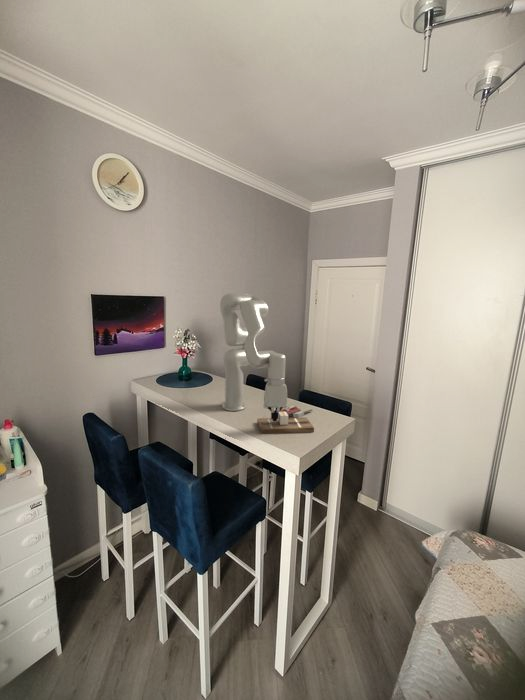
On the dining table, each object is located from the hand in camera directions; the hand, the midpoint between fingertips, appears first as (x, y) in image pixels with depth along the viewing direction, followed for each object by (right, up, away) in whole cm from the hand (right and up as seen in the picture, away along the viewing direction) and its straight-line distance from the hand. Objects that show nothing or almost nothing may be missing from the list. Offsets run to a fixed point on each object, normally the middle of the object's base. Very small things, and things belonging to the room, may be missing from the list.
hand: (274, 419), depth 140 cm
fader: (+4, -1, +1) cm, 4 cm away
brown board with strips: (+5, -4, +1) cm, 6 cm away
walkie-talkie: (+11, -2, +18) cm, 21 cm away
